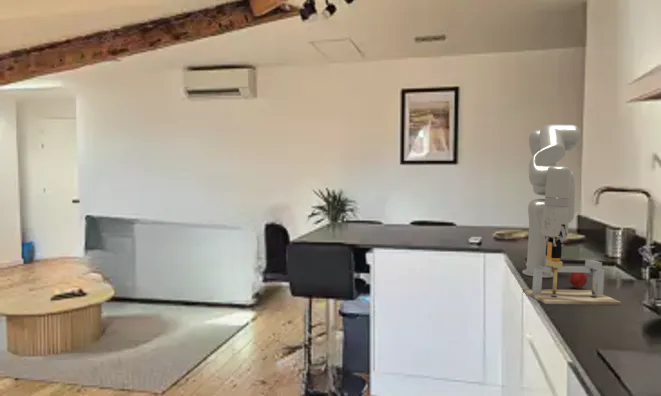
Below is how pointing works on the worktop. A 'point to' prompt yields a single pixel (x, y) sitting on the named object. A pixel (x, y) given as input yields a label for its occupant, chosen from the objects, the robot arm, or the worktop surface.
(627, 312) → the worktop surface
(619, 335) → the worktop surface
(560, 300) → the bolt plate
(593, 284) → the grey arch frame
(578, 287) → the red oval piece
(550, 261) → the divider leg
